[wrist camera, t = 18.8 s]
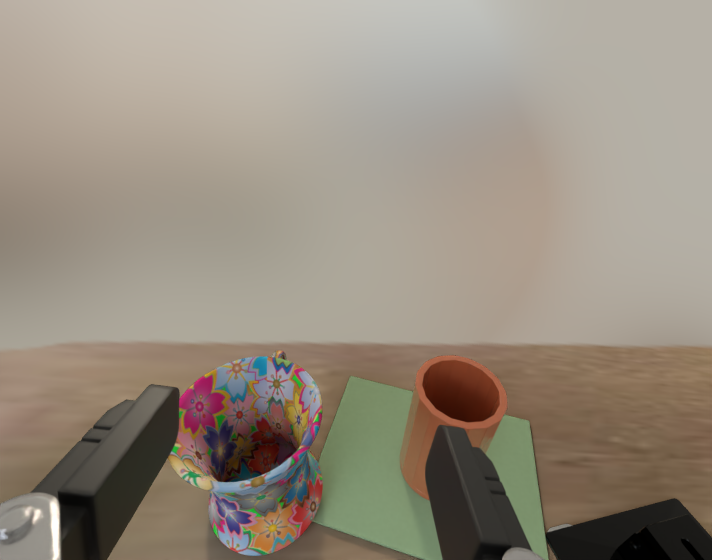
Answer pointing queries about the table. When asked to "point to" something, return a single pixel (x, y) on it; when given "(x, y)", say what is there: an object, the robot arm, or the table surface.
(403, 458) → the pot
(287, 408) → the mug
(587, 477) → the table surface
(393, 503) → the placemat
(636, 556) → the black stand
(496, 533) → the robot arm
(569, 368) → the table surface
